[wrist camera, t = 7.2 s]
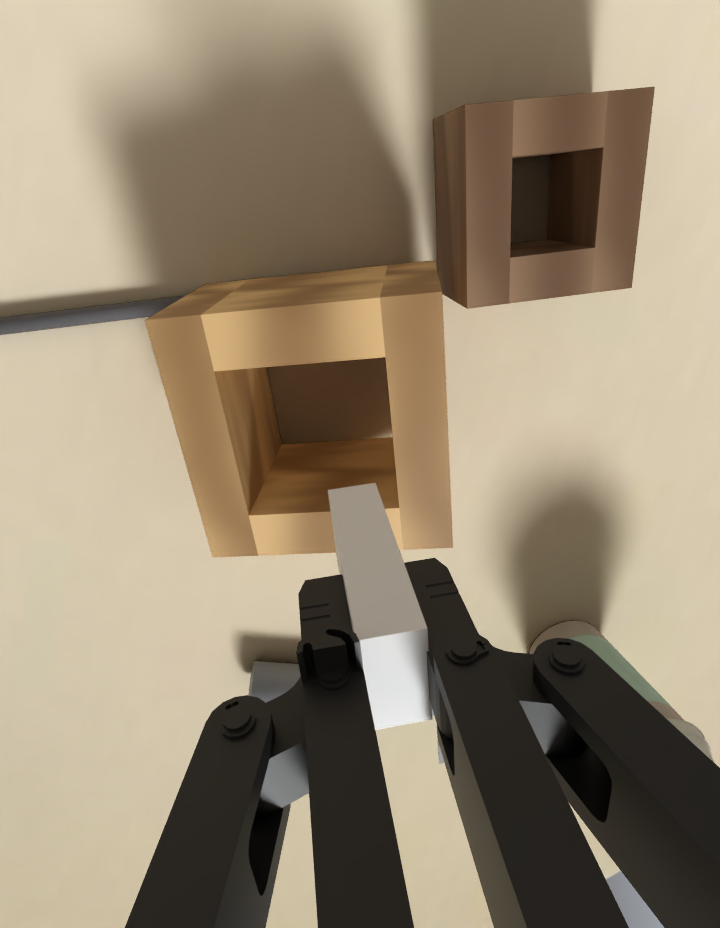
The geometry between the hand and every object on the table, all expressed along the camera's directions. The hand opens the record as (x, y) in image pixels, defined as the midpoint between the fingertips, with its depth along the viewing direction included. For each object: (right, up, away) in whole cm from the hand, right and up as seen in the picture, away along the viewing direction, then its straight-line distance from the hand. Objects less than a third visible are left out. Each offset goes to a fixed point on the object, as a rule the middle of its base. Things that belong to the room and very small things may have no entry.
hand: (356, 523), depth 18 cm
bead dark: (+8, +15, +11) cm, 21 cm away
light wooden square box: (-1, +6, +13) cm, 14 cm away
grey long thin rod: (-12, +10, +11) cm, 19 cm away
